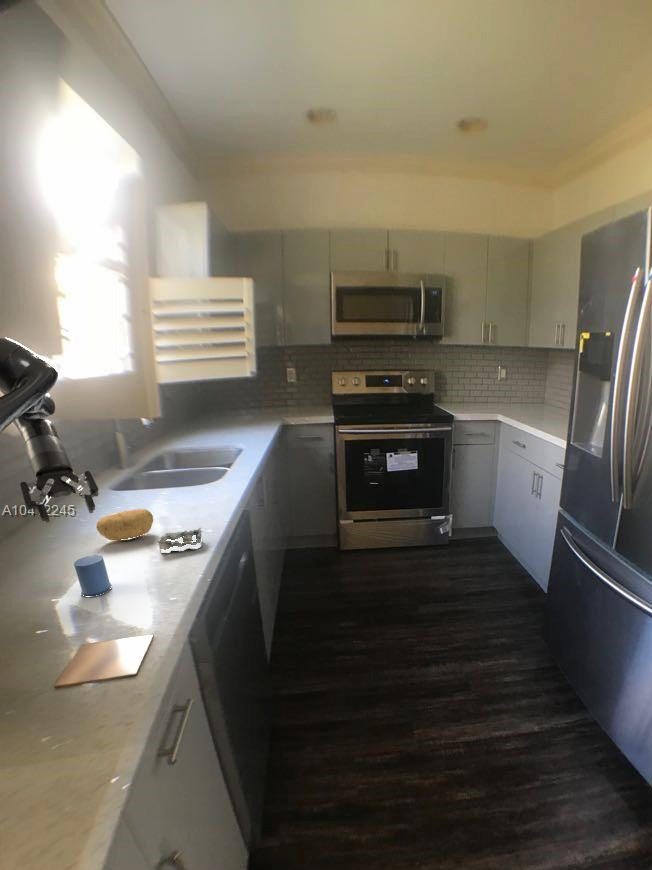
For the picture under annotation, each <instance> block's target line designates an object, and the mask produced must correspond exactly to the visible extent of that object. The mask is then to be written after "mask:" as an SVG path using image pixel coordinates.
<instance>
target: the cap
mask: <svg viewBox="0 0 652 870" xmlns="http://www.w3.org/2000/svg"><path fill="white" fill-rule="evenodd" d="M73 565H74V570H75V572H76V575H77V580H78V582H79V583H78V584H79V586H80V589H81V591H80V594H81V596H82V595H84V596H96V595H100V594H103V593H105V592H107V591H108V590H110V588H111V586H112V584H111V582H110V578H109V575H108V571H107V570H108V569H107V567H106V563H105V560H104V556H103V555H101V554H92V555H87V556H83V557H80V558H78V559H77V560H76V561H74V562H73ZM112 587H113V586H112ZM110 591H111V590H110ZM107 593H108V592H107ZM105 594H106V593H105ZM103 595H104V594H103ZM100 596H101V595H100Z"/></svg>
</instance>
